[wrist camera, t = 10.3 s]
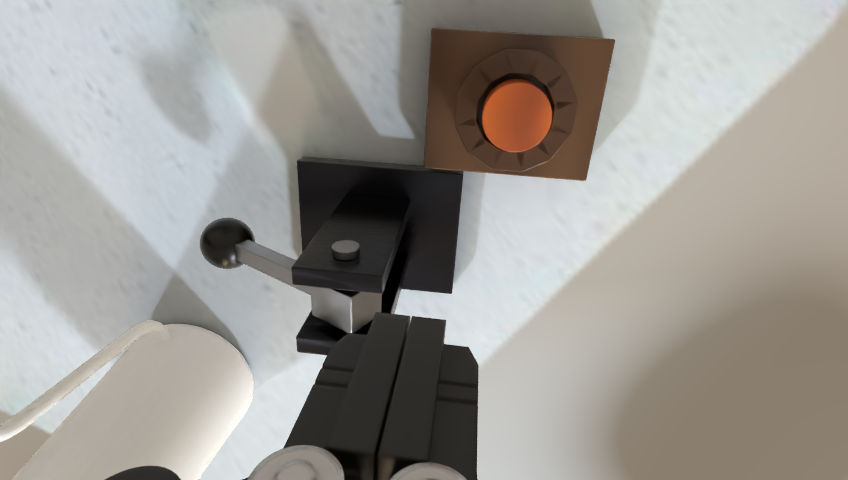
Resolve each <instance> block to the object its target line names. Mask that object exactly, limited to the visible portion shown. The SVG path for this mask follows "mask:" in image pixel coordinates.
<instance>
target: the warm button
mask: <svg viewBox="0 0 848 480" xmlns="http://www.w3.org/2000/svg"><path fill="white" fill-rule="evenodd" d="M551 121H552V109H551V105H550V102H549V100H548V98H547V96H546V95H545V94H544V93H543V91H542V90H541V89H540V88H539V87H537V86H536V85H535V84H533V83H532V82H530V81H527V80H524V79H510V80H506V81H504V82H501V83H500V84H498V85H497V86H495V87H494V88H493V89H492V90H491V91H490V92H489V94H488V95H487V97H486V99H485V101H484V104H483V107H482V124H483V129H484V132H485V134H486V136H487V137H488V139H489V140H490V141H491V142H492V143H493V144H494V145H495V146H496V147H498V148H500V149H502V150H505V151H508V152H522V151H526V150H528V149H531V148H532V147H534V146H536V145H537V144H538V143H540V142H541V141H542V140H543V138H544V137H545V136H546V134H547V132H548V131H549V128H550V126H551Z"/></svg>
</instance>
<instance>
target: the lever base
mask: <svg viewBox="0 0 848 480" xmlns="http://www.w3.org/2000/svg"><path fill="white" fill-rule="evenodd" d="M297 169H298V186H299V203H300V220H301V237H302V254H301V255H300V256H299V258H298V259H297V260H296V262H295V263H294V264H293V266H292V267H291V270H292V284H293V285H299V286H309V287H319V288H329V289H339V290H349V291H359V292H369V293H379V294H382V295H381V313H388V314H394V313H395V309H396V305H397V302H398V298H399V295H400V291H401V289H409V290H419V291H429V292H439V293H449V294H452V288H453V277H454V266H455V256H456V245H457V234H458V224H459V213H460V202H461V192H462V181H463V171H458V170H445V169H433V168H424V166H415V165H402V164H390V163H378V162H366V161H354V160H341V159H329V158H317V157H305V156H303V157H301V158H300V159H299V160H298V161H297ZM371 323H372V321H370V322H369V323H367V324H366V325H364V326H363V327H362V328H360V329H359V330H357V331H356V332H354V334H362V335H367V334H368V331H369V328H370V326H371ZM346 334H347V332H345V331H343V330H341V329H339V328H337V327H335V326H333V325H331V324H329V323H327V322H325V321H323V320H321V319H319V318H317V317H315V316H313V315H312V310H311V312H310V314H309V316H308V317H307V319H306V321H305V323H304V324H303V326H302V328H301V330H300V331H299V333H298V335H297V337H296V339H297V351H298V352H303V353H312V354H321V355H328V353H329V351H330V349H331V347H332V346H333V345H334V344H335V343H337V342H338V341H339V340H340V339H341V338H343V337H344V336H345V335H346Z"/></svg>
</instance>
